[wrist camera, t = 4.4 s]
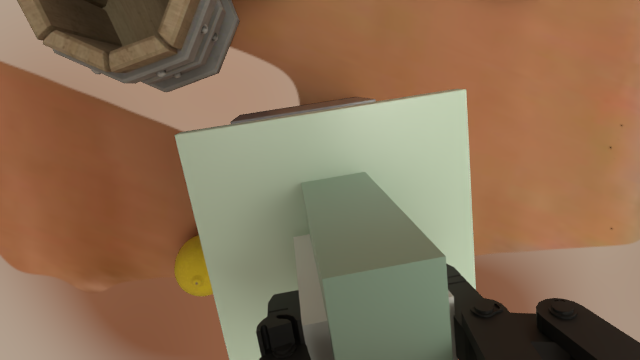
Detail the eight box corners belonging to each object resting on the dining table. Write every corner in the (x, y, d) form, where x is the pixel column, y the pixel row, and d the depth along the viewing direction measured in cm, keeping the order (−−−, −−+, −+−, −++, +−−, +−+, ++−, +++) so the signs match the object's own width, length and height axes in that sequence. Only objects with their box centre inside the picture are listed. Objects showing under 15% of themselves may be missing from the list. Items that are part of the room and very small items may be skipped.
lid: (185, 129, 19) (62, 193, 8) (447, 88, 19) (650, 97, 9) (239, 357, 22) (202, 615, 11) (461, 314, 23) (619, 517, 12)
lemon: (181, 226, 41) (158, 259, 34) (233, 220, 42) (223, 250, 34) (190, 274, 43) (171, 315, 35) (241, 267, 43) (233, 306, 35)
